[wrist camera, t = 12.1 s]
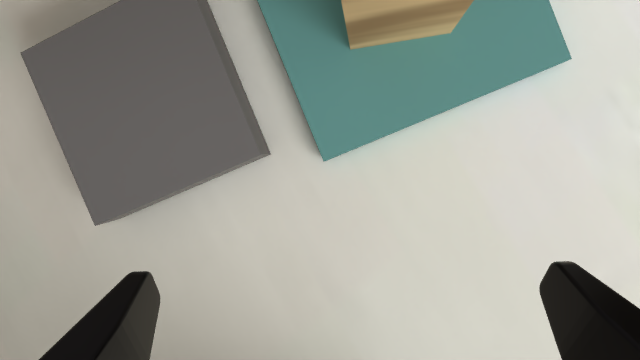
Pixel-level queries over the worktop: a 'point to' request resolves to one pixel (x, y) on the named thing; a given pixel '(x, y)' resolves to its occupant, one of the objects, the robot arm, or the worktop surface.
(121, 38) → the charcoal board
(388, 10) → the oak block
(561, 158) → the worktop surface
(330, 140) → the teal mat
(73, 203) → the worktop surface
